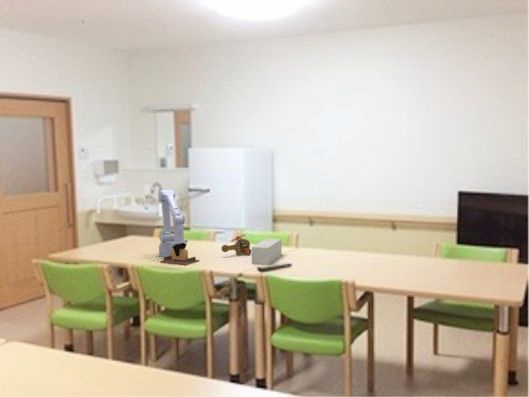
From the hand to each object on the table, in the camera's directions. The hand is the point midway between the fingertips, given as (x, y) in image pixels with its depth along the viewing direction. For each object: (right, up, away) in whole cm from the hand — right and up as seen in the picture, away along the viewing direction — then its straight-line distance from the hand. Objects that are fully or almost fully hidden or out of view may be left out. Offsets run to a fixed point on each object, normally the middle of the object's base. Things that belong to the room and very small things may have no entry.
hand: (179, 255), depth 354 cm
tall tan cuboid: (0, -2, 0) cm, 2 cm away
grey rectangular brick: (+55, -3, +5) cm, 55 cm away
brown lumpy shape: (+35, -2, +18) cm, 40 cm away
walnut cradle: (0, -4, 0) cm, 4 cm away
